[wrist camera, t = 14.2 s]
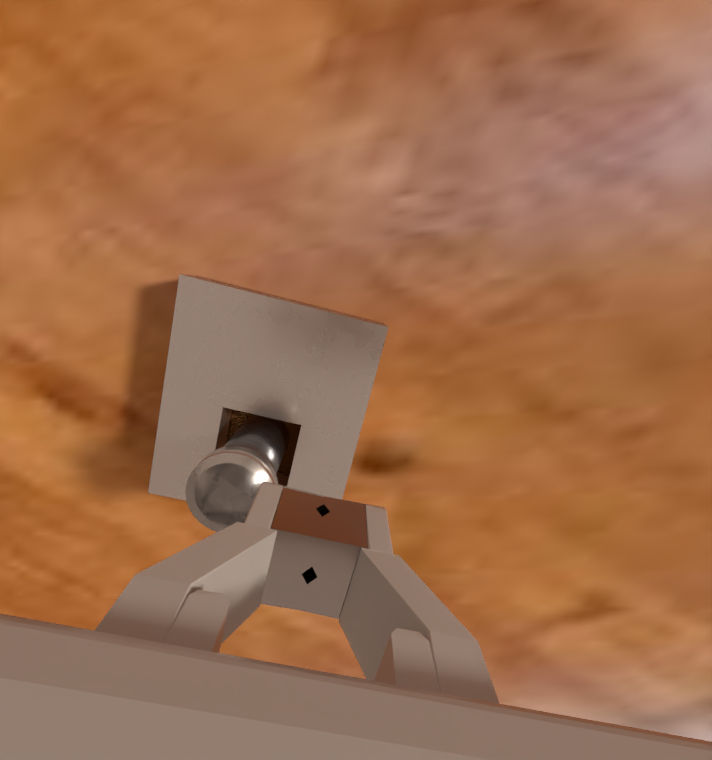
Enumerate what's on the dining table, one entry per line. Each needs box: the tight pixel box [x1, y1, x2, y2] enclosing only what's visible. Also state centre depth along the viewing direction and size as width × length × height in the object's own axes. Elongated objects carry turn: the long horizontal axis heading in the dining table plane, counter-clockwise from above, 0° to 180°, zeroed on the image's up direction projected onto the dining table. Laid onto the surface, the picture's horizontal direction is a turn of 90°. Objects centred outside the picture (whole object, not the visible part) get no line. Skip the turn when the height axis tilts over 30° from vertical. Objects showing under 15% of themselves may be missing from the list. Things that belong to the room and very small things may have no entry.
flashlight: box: [186, 414, 289, 532], centre depth 26 cm, size 5×5×9 cm
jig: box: [148, 274, 388, 501], centre depth 28 cm, size 16×14×3 cm
